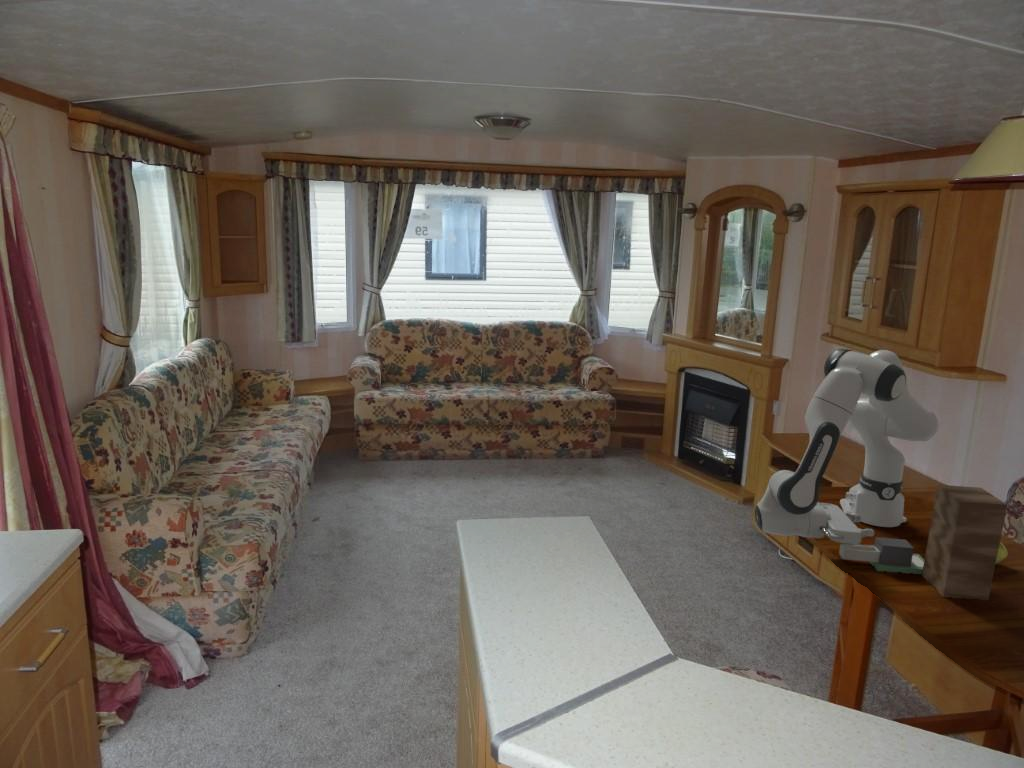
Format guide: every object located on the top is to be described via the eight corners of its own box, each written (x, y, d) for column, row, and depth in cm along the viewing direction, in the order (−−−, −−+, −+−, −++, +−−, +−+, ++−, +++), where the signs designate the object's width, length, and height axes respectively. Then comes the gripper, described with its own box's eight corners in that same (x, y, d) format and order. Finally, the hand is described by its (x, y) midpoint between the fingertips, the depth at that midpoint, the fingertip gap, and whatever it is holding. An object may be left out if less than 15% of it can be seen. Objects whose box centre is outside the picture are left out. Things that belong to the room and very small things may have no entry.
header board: (863, 554, 210) (864, 550, 210) (917, 558, 209) (918, 554, 209) (877, 570, 200) (878, 565, 200) (934, 575, 199) (935, 570, 199)
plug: (837, 552, 208) (840, 534, 206) (902, 557, 206) (905, 539, 204) (844, 560, 202) (846, 542, 201) (910, 566, 200) (913, 548, 199)
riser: (921, 575, 199) (937, 484, 193) (963, 578, 198) (981, 487, 192) (943, 597, 187) (961, 501, 182) (988, 600, 186) (1007, 504, 181)
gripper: (829, 526, 193) (883, 530, 192) (805, 497, 213) (854, 501, 212) (826, 548, 195) (879, 552, 194) (802, 518, 215) (851, 521, 213)
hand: (866, 525), depth 203 cm, fingers open, 8 cm apart
